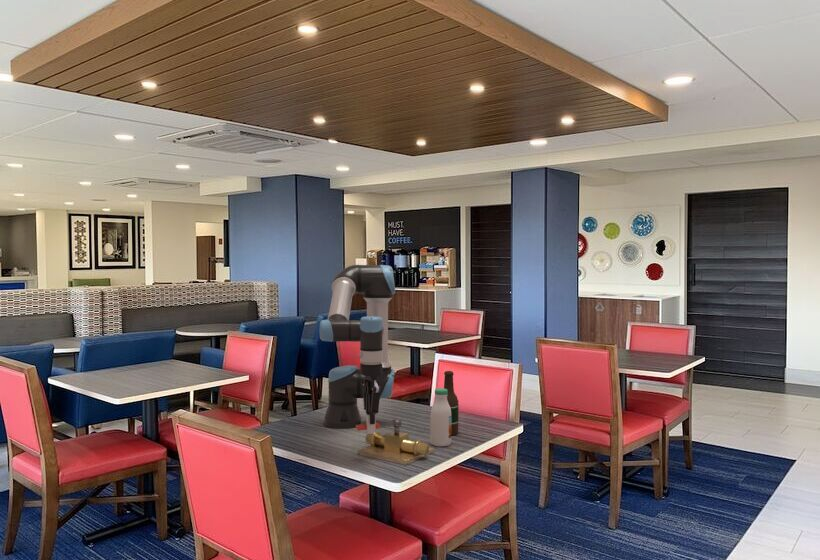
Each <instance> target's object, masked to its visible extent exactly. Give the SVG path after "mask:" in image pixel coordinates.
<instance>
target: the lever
mask: <svg viewBox="0 0 820 560" xmlns="http://www.w3.org/2000/svg"><path fill="white" fill-rule="evenodd" d="M366 424H367V423H361V424H360V425H356V427H355V430H356V431H358V432H359V431H366V430H367V426H366ZM391 426H393V427H394V426H399V427H401V426H402V419H399V418H397V419H396V418H394V419H392V420H391V421H384V422H377V421H376V423H375V430H376V429H380V428H385V427H391Z"/></svg>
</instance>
